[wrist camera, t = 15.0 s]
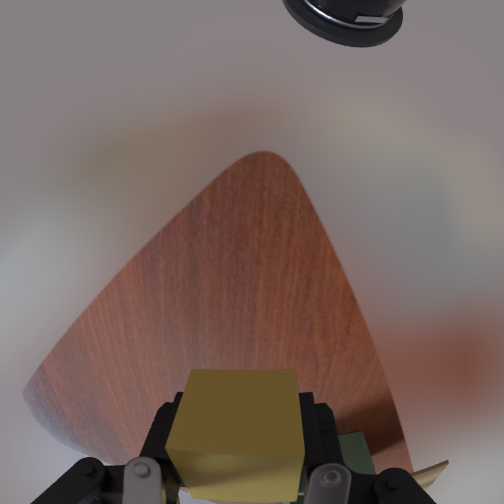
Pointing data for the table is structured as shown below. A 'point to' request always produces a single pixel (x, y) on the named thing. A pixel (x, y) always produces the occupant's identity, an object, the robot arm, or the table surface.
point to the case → (350, 457)
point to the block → (239, 436)
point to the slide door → (429, 474)
